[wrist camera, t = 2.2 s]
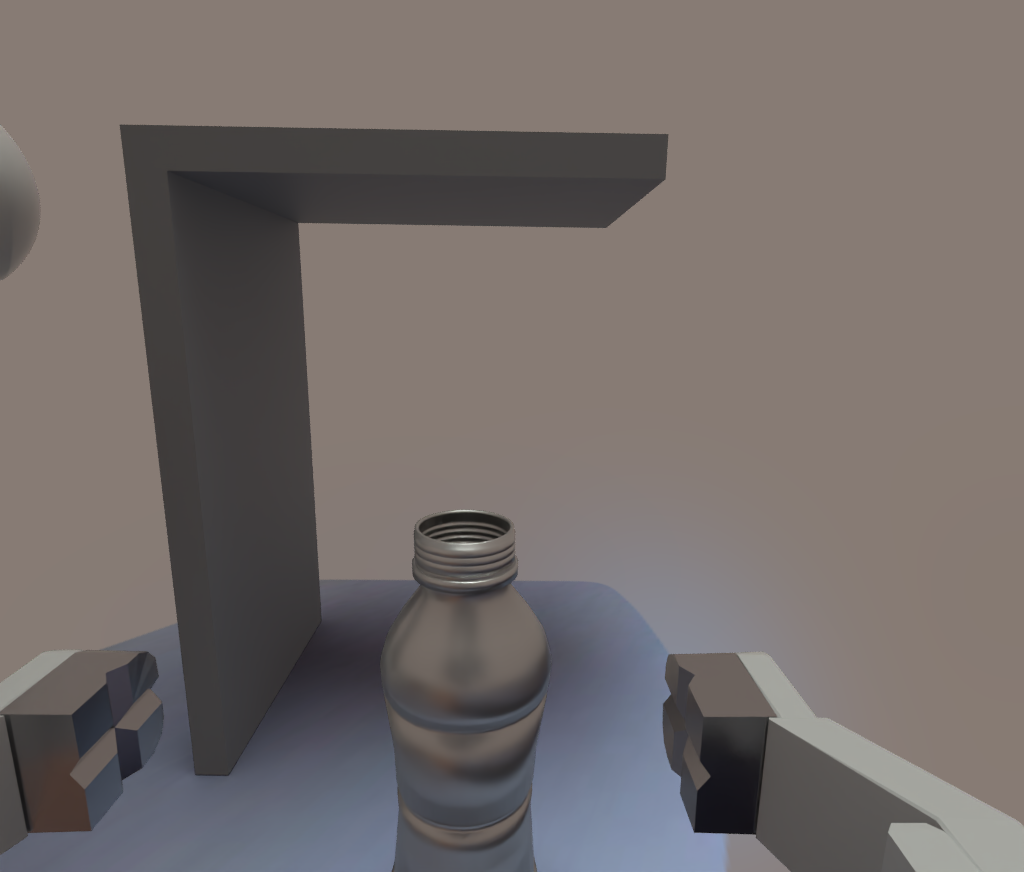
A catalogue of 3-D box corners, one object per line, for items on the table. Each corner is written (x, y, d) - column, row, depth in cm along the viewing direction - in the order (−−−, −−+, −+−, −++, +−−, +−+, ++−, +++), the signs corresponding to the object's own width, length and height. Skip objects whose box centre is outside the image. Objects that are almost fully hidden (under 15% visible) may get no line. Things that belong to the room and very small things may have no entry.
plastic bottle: (413, 875, 30) (404, 493, 25) (548, 897, 29) (562, 503, 24) (362, 1026, 23) (338, 553, 19) (532, 1060, 22) (547, 570, 18)
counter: (195, 774, 36) (119, 124, 28) (299, 620, 53) (270, 195, 46) (625, 779, 36) (668, 134, 28) (587, 623, 53) (607, 200, 46)
